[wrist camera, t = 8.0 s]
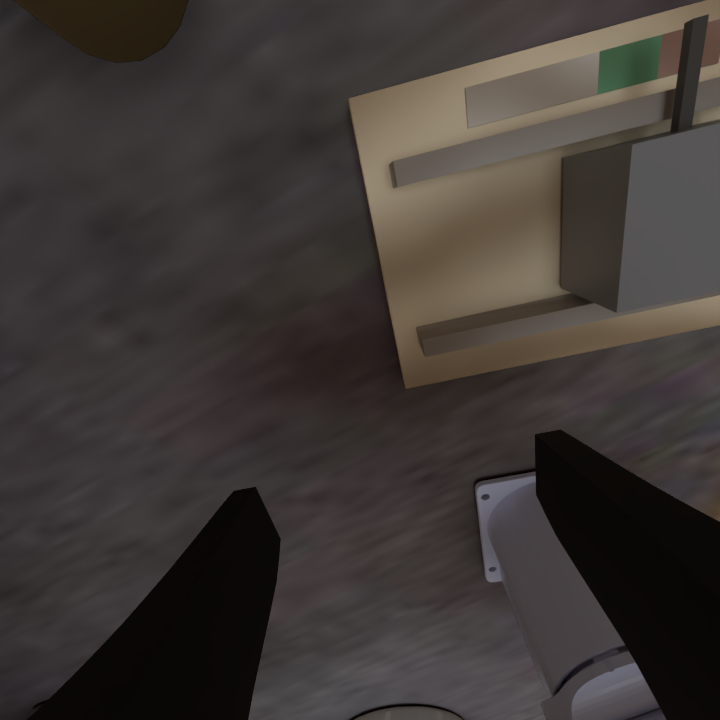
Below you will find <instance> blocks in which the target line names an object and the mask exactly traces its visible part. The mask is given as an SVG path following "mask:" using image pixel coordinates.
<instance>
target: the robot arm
mask: <svg viewBox="0 0 720 720" xmlns="http://www.w3.org/2000/svg"><path fill="white" fill-rule="evenodd" d="M535 468H536V471H535V472H530V473H524V474H518V475H513V476H507V477H502V478H496V479H491V480H485V481H481V482H479V483H477V484H476V486H475V495H476V504H477V513H478V521H479V530H480V539H481V547H482V556H483V565H484V573H485V577H486V580H487V581H489V582H498V581H502V583H503V585H504V588H505V590H506V593H507V596H508V598H509V601H510V603H511V606H512V609H513V611H514V614H515V616H516V619H517V622H518V624H519V627H520V629H521V632H522V635H523V637H524V640H525V642H526V645H527V648H528V650H529V653H530V655H531V658H532V661H533V663H534V666H535V668H536V671H537V673H538V675H539V677H540V680H541V682H542V683H543V685H544V687H545V688H546V690H547V691H548V693H549V694H550V696H551V698H549V699H547V700H545V701H543V702H542V703H541V707H542V709H543V712H544V715H545V717H546V720H720V522H719V521H717V520H715V519H713V518H711V517H709V516H708V515H706V514H704V513H702V512H700V511H698V510H696V509H694V508H693V507H691V506H689V505H687V504H685V503H683V502H682V501H680V500H678V499H676V498H674V497H673V496H671V495H669V494H667V493H665V492H664V491H662V490H660V489H658V488H657V487H655V486H653V485H651V484H650V483H648V482H646V481H645V480H643V479H641V478H639V477H638V476H636V475H634V474H633V473H631V472H629V471H628V470H626V469H624V468H623V467H621V466H619V465H618V464H616V463H614V462H613V461H611V460H609V459H608V458H606V457H605V456H603V455H601V454H600V453H598V452H596V451H595V450H593V449H592V448H590V447H588V446H587V445H585V444H583V443H582V442H580V441H579V440H577V439H575V438H574V437H572V436H570V435H569V434H567V433H565V432H564V431H562V430H556V431H551V432H545V433H540V434H535ZM484 494H486V495H484ZM280 540H281V539H280V537H279V535H278V533H277V531H276V528H275V526H274V524H273V522H272V520H271V518H270V516H269V514H268V512H267V510H266V508H265V505H264V503H263V501H262V499H261V497H260V495H259V493H258V491H257V489H256V487H252V488H247V489H242V490H236V491H233V492H232V494H231V495H230V496H229V497H228V498H227V499H226V501H225V502H224V503H223V504H222V506H221V507H220V508H219V509H218V510H217V512H216V513H215V514H214V515H213V517H212V518H211V519H210V520H209V522H208V523H207V524H206V525H205V527H204V528H203V529H202V530H201V532H200V533H199V534H198V535H197V537H196V538H195V539H194V540H193V542H192V543H191V544H190V545H189V547H188V548H187V549H186V550H185V551H184V553H183V554H182V555H181V556H180V558H179V559H178V560H177V561H176V562H175V564H174V565H173V566H172V567H171V569H170V570H169V571H168V572H167V573H166V574H165V576H164V577H163V578H162V579H161V580H160V581H159V583H158V584H157V585H156V586H155V587H154V588H153V589H152V591H151V592H150V593H149V594H148V595H147V596H146V597H145V599H144V600H143V601H142V602H141V603H140V604H139V606H138V607H137V608H136V609H135V610H134V611H133V612H132V614H131V615H130V616H129V617H128V618H127V619H126V620H125V621H124V623H123V624H122V625H121V626H120V627H119V628H118V629H117V630H116V631H115V632H114V633H113V635H112V636H111V637H110V638H109V639H108V640H107V641H106V642H105V643H104V644H103V645H102V646H101V647H100V648H99V649H98V650H97V651H96V652H95V653H94V654H93V656H92V657H91V658H90V659H89V660H88V661H87V662H86V663H85V664H84V665H83V666H82V667H81V668H80V669H79V670H78V671H77V672H76V673H75V674H74V675H73V676H72V677H71V678H70V679H69V680H68V681H67V682H66V683H65V684H64V685H63V686H62V687H61V688H60V689H59V690H58V691H57V692H56V693H55V694H54V695H53V696H52V697H51V698H50V699H48V700H47V701H46V702H45V703H44V704H43V705H42V706H41V707H40V708H39V709H38V710H37V711H36V712H35V713H34V714H33V715H32V716H31V717H30V718H28V719H27V720H248V717H249V712H250V706H251V701H252V695H253V690H254V685H255V681H256V676H257V671H258V667H259V662H260V657H261V653H262V648H263V643H264V639H265V634H266V630H267V625H268V620H269V616H270V611H271V606H272V601H273V596H274V592H275V587H276V581H277V573H278V564H279V552H280Z"/></svg>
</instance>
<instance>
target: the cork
mask: <svg viewBox="0 0 720 720" xmlns="http://www.w3.org/2000/svg"><path fill="white" fill-rule="evenodd" d="M13 1H15V2H16V3H17V4H18V5H20V6H21V7H22V8H24V9H25V10H26V11H28V12H29V13H30V14H32V15H33V16H34V17H36V18H37V19H38V20H40V21H41V22H42V23H43V24H45V25H46V26H47V27H49V28H50V29H51V30H53V31H54V32H55V33H57V34H58V35H59V36H61V37H62V38H64V39H65V40H67V41H68V42H70V43H71V44H73V45H74V46H76V47H77V48H79V49H80V50H82V51H83V52H85V53H86V54H88V55H92V56H95V57H98V58H102V59H105V60H109V61H112V62H115V63H116V62H128V61H140V60H143V59H145V58H146V57H148V56H150V55H152V54H154V53H155V52H157V51H159V50H161V49H162V48H164V46H165V45H166V44H167V42H168V41H169V40H170V38H171V37H172V36H173V34H174V33H175V32H176V30H177V29H178V28H179V26H180V24H181V21H182V18H183V15H184V12H185V8H186V5H187V2H188V0H13Z"/></svg>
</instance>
